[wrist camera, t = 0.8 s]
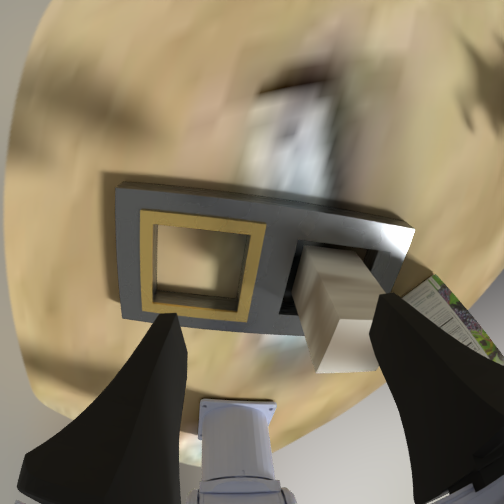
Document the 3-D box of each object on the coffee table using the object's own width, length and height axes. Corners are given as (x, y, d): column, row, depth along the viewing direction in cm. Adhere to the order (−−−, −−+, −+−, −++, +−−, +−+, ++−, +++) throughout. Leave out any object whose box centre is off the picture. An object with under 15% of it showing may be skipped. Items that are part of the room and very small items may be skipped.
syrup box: (445, 308, 25) (522, 415, 13) (399, 341, 27) (462, 460, 14) (434, 271, 23) (532, 391, 10) (381, 309, 24) (458, 449, 12)
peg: (339, 295, 23) (375, 370, 16) (291, 292, 23) (315, 373, 16) (354, 251, 21) (404, 320, 14) (303, 244, 21) (340, 319, 14)
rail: (363, 325, 25) (370, 338, 24) (127, 306, 22) (121, 320, 21) (405, 221, 21) (416, 230, 19) (123, 181, 18) (114, 188, 16)
